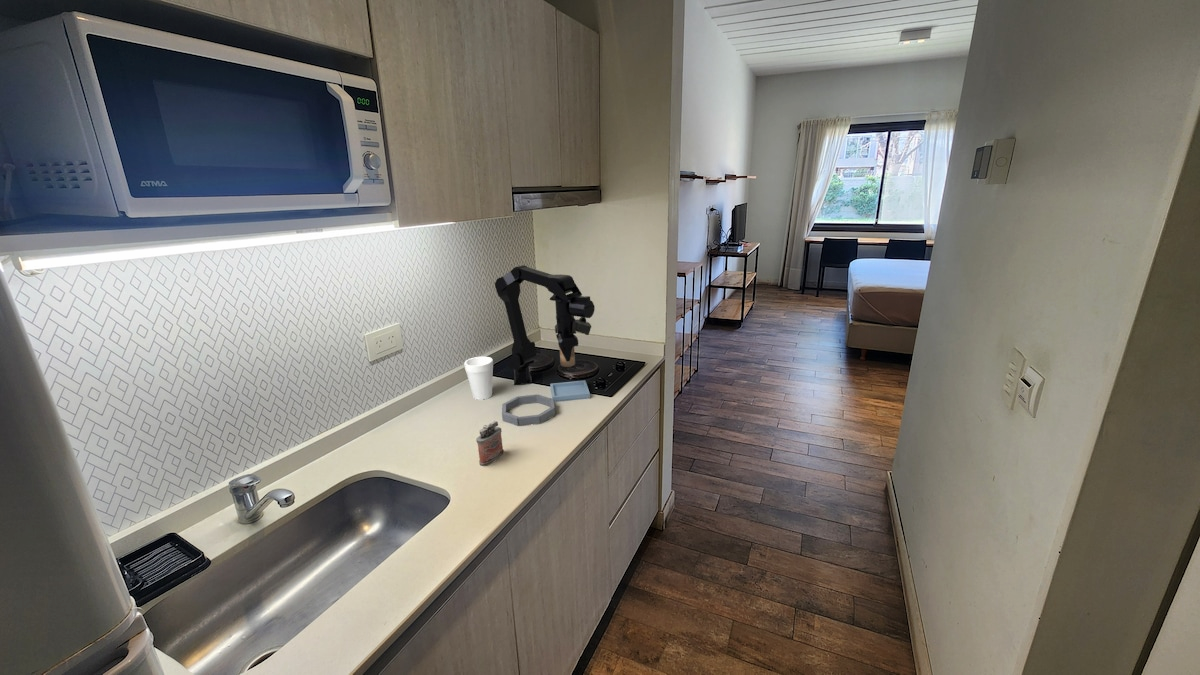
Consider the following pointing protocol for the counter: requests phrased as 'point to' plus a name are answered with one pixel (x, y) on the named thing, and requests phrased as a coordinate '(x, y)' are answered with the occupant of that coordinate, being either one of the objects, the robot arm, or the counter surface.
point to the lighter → (490, 444)
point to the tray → (569, 391)
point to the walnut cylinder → (563, 360)
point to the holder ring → (533, 418)
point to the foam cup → (480, 376)
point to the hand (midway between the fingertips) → (567, 358)
